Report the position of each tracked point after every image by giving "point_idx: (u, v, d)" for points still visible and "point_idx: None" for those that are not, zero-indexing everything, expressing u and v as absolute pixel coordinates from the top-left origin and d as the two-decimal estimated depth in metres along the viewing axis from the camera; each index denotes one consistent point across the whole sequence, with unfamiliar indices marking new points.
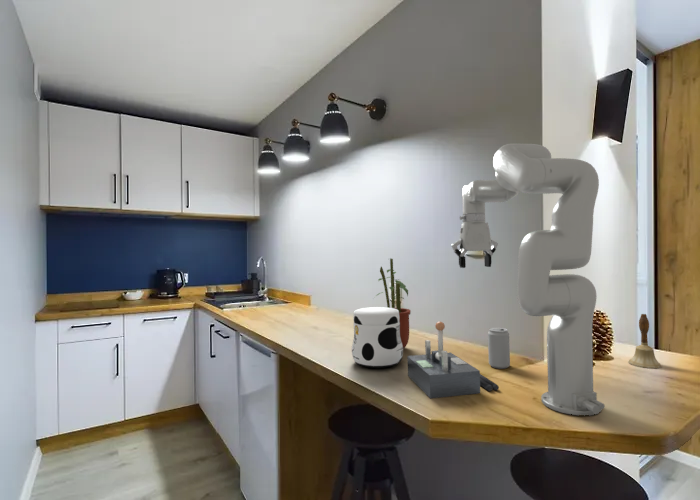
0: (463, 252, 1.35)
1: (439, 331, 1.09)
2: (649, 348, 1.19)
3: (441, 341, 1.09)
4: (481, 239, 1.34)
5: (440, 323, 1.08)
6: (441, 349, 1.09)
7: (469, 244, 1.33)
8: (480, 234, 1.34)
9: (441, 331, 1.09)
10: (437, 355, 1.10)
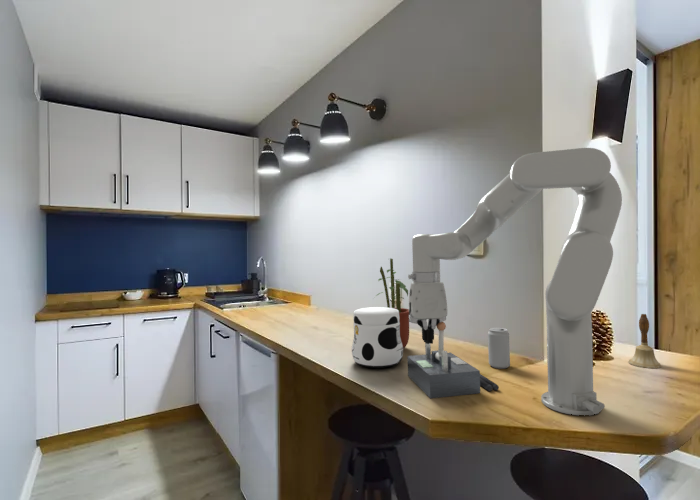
0: (424, 324, 1.07)
1: (440, 331, 1.09)
2: (649, 348, 1.19)
3: (442, 341, 1.09)
4: (434, 305, 1.06)
5: (441, 323, 1.08)
6: (441, 349, 1.09)
7: (419, 311, 1.05)
8: (433, 298, 1.06)
9: (442, 331, 1.09)
10: (437, 355, 1.10)
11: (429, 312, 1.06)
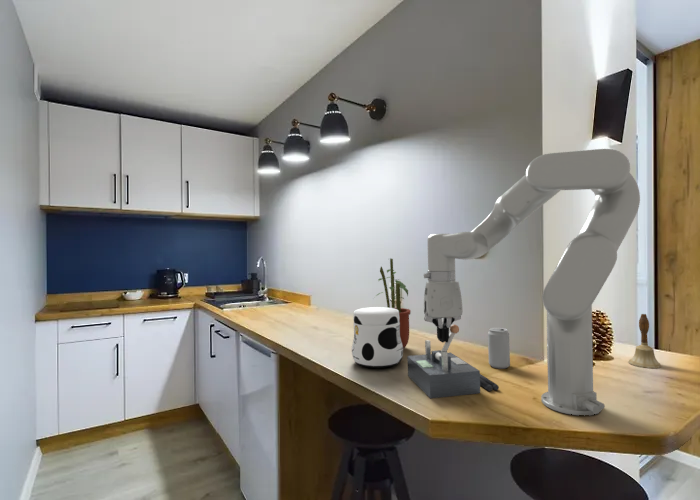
0: (439, 323, 1.08)
1: (451, 333, 1.09)
2: (649, 348, 1.19)
3: (449, 343, 1.09)
4: (450, 303, 1.07)
5: (456, 326, 1.09)
6: (445, 350, 1.09)
7: (435, 310, 1.06)
8: (449, 297, 1.07)
9: (453, 334, 1.09)
10: (438, 354, 1.10)
11: (444, 311, 1.06)
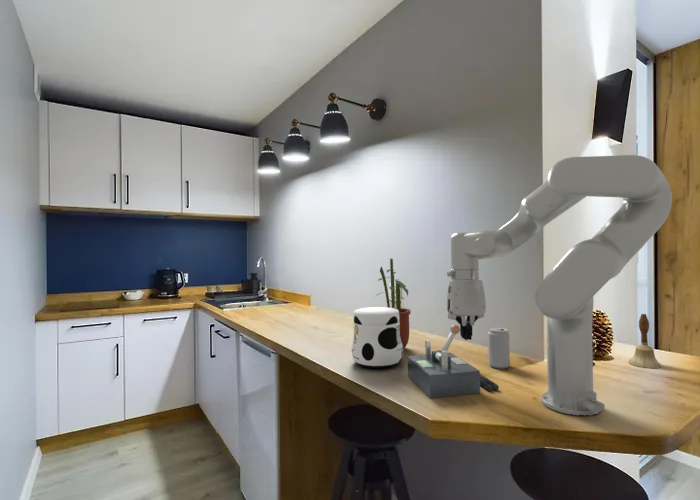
0: (463, 320, 1.09)
1: (452, 333, 1.09)
2: (649, 348, 1.19)
3: (449, 343, 1.09)
4: (473, 301, 1.08)
5: (457, 326, 1.09)
6: (445, 350, 1.09)
7: (459, 308, 1.07)
8: (472, 295, 1.08)
9: (454, 334, 1.09)
10: (438, 354, 1.10)
11: (468, 309, 1.08)
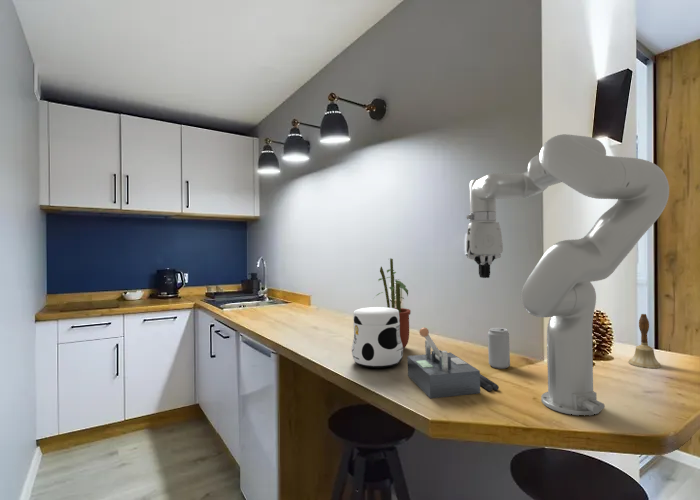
0: (482, 260, 1.17)
1: (426, 337, 1.08)
2: (649, 348, 1.19)
3: (433, 344, 1.08)
4: (491, 241, 1.16)
5: (422, 330, 1.07)
6: (437, 351, 1.08)
7: (478, 247, 1.16)
8: (490, 236, 1.16)
9: (427, 336, 1.08)
10: (437, 357, 1.10)
11: (487, 248, 1.16)
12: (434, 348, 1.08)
